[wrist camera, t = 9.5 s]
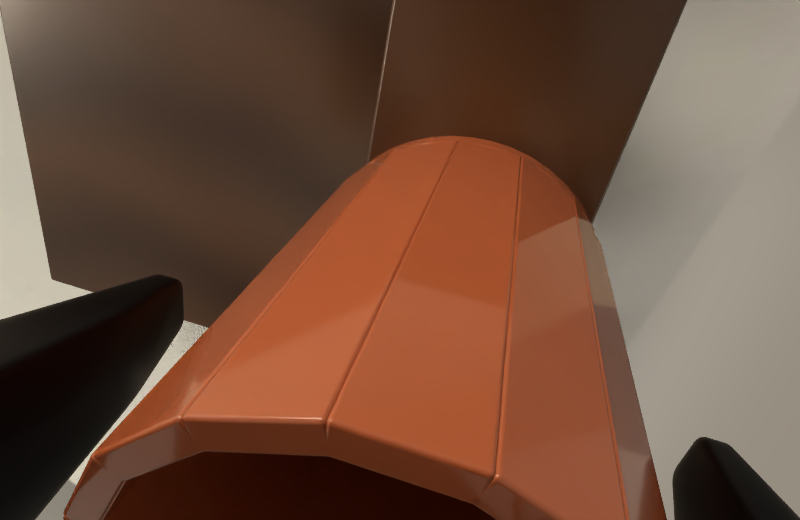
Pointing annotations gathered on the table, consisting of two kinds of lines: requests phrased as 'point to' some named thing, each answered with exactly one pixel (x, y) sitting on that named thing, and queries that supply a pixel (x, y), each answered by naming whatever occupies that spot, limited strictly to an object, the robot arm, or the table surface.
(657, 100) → the table surface
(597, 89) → the wooden table and bench
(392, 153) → the cup
